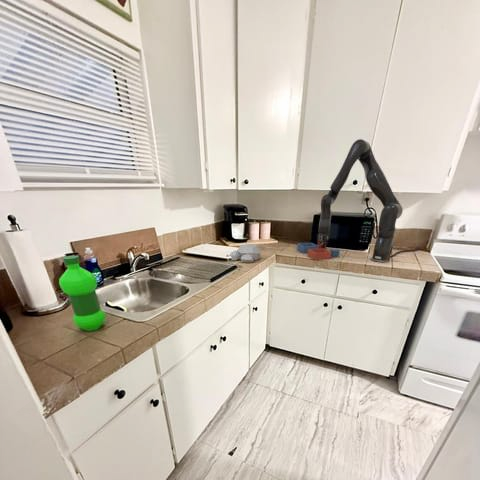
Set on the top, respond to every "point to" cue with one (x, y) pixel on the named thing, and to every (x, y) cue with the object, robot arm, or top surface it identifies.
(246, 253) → the rock
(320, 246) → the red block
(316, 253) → the red bin
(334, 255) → the blue block
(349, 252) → the top surface
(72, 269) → the plastic bottle
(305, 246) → the blue bin
